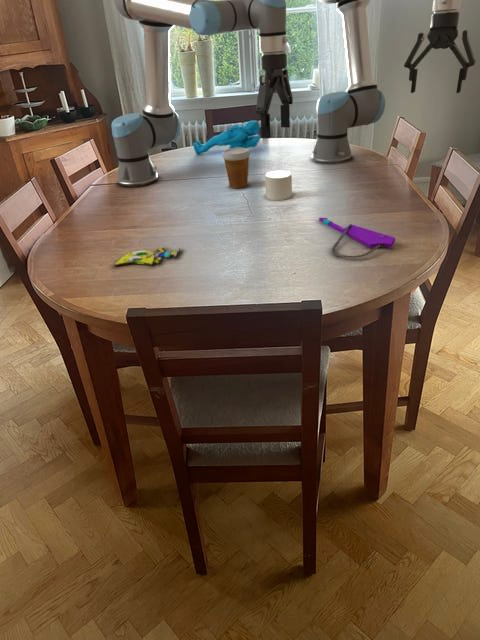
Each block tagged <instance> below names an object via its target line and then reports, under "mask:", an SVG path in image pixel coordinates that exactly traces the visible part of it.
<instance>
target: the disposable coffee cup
mask: <svg viewBox="0 0 480 640" xmlns="http://www.w3.org/2000/svg"><path fill="white" fill-rule="evenodd" d="M250 155H251V152H250V150H249V148H230V149H229V148H227V149H225V150H223V151H222V159H223V162H224V166H225V171H226V175H227V180H228V184H229V188H232V189H243V188H245V187H248V184H249V183H248V181H249V162H250V161H249V160H250Z"/></svg>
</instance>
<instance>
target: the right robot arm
mask: <svg viewBox="0 0 480 640" xmlns="http://www.w3.org/2000/svg"><path fill="white" fill-rule="evenodd" d="M317 1H318V2H320V3H322V4H326V5H327V4H329V5H331V4H336V11H337V13H339V14H340V15H341V19H342V28H343V39H344V48H345V59H346V68H347V77H348V87H347V89H346V90H344V91H343V90H342V91H334V92H329V93H326V94H324V95H321V96H320V97H319V98H318V100H317V103H316V140H315V144H314V145H313V150H312V153H311V160H312V161H313V162H315V163H319V164H341V163H345V162H348V161H350V160H351V159H352V150H351V147H350V142H349V139H348V132H349V130H348V129H351V128H356V127H362V126H369V125H371V124H375V123H377V122H379V120H381V118H382V116H383V115H384V113H385V108H386V97H385V95H384V94H383V91H381V90H379V89H378V84H377V83H376V82H375V81H374V80H373V72H372V62H371V61H372V60H371V51H370V38H369V27H368V17H367V16H368V15H367V7H368V6H369V4H370V3H371V0H317ZM461 6H462V0H432V7H431V8H432V9H431V11H432V12H433V13H432V15H431V17H430V26H429V31H428V32H423V31H422V32H419V33H418V34H417V39H416V42H415V43H414V46H413V47H412V49H411V51H410V53H409V55H408V56H407V59H406V61H405V63H404V65H403V67H404V68H407V69H408V70H409V75H408V81H409V82H411V86H410V94H413V93H415V92H416V88H417V78H418V68H417V66H418V65H419V64H420V63H421V62H422V60H423V59H424V58H425V57H426V56H427V55H428V54H429V53H430V51H432V49H434V50H439V49H442V50H446V49H448V48H449V50H450V51H451V52H452V53H453V55H454V56H455V58H456V59H457V61H458V62H459V64H460V65H461V68H459V72H458V79H457V86H456V94H460V93H461V91H462V85H463V81H466V80H467V76H468V71H469V68H471V67H473V66H475V65H476V63H477V61H476V59H475V55H474V52H473V49H472V45H471V42H470V40H469V30H468V29H465V30H461V31H458V27H459V20H460V11H459V10H461ZM458 37H459V39H460V40H462V45H463V47H464V50H465V54H466V57H467V59H466V58H465V56H464V55H463V54H462V52H461V50H460V49H459V47H458V46H457V43H456V42H455V41H456V39H457V38H458ZM426 39H427V40H428V42H429V43H428V45H427V46H426V47H425V48H424V50H423V51H422V52H421V53H420V54H419V55H418V57H416V59H415V60H414V58H415V56H416V55H417V53H418V51H419V49H420V47H421V46H422V44H423V42H425V41H426ZM413 60H414V61H413ZM467 60H468V61H467Z"/></svg>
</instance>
